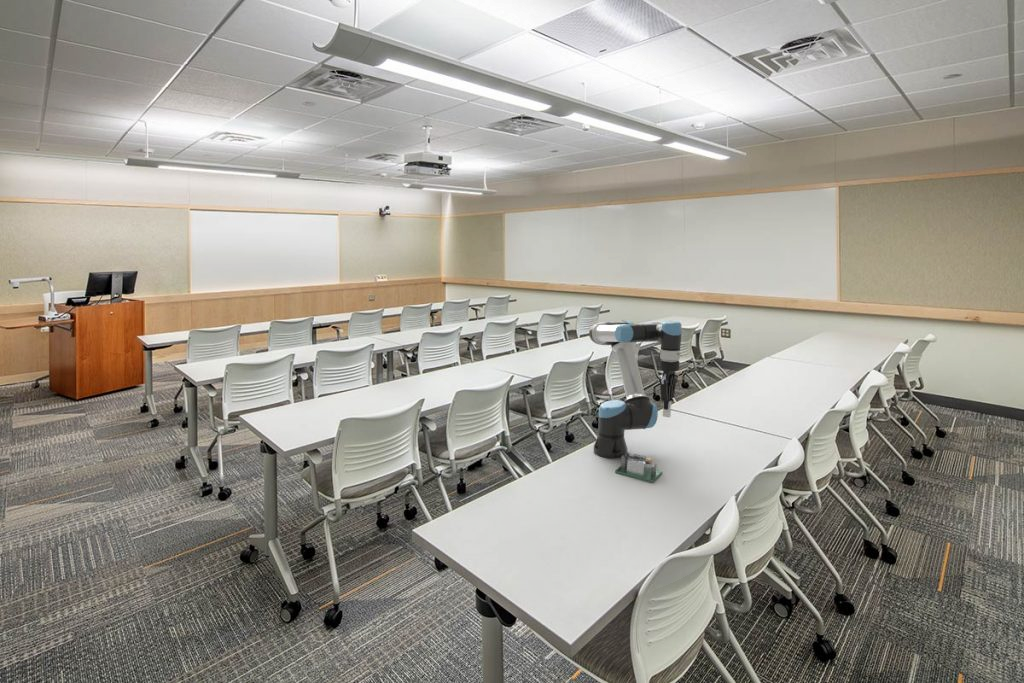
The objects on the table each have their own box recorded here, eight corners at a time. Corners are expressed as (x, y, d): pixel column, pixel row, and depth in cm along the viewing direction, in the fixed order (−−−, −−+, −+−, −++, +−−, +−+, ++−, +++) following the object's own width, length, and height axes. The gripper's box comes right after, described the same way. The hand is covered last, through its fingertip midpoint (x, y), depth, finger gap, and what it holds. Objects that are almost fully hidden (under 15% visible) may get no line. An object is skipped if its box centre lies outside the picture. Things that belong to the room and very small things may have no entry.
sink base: (615, 472, 215) (615, 457, 214) (625, 463, 224) (626, 449, 222) (652, 482, 206) (653, 467, 204) (662, 473, 215) (663, 458, 213)
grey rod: (623, 458, 217) (623, 454, 216) (625, 457, 218) (625, 452, 218) (650, 464, 210) (650, 460, 210) (651, 463, 212) (652, 458, 211)
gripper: (672, 363, 201) (668, 422, 205) (685, 358, 211) (681, 414, 215) (654, 361, 206) (651, 418, 210) (667, 356, 215) (664, 411, 219)
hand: (666, 416), depth 212 cm, fingers closed
